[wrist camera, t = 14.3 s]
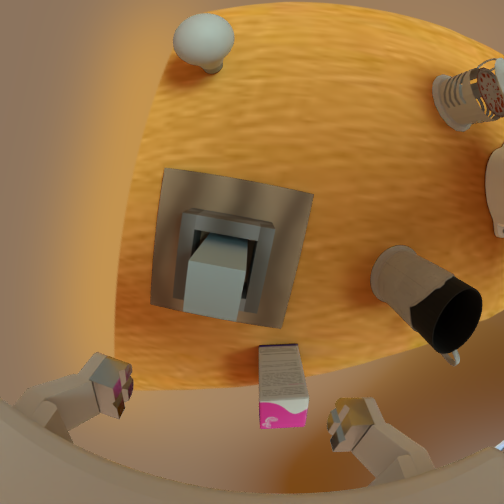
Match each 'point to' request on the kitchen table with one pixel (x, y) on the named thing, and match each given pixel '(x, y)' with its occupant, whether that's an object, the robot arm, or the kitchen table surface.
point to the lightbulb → (204, 41)
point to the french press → (470, 96)
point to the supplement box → (281, 387)
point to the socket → (232, 224)
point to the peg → (216, 277)
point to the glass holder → (427, 299)
